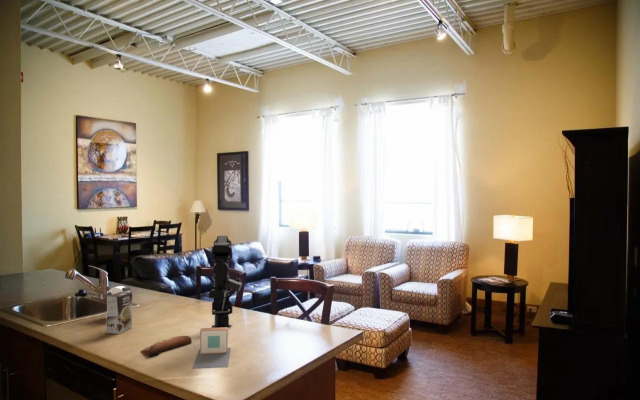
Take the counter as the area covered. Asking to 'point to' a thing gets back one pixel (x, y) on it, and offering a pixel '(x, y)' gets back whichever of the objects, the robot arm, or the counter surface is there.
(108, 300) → the coffee box
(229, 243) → the robot arm
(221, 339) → the tile
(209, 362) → the mat
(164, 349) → the sunglasses case
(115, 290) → the white piece
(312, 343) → the counter surface
